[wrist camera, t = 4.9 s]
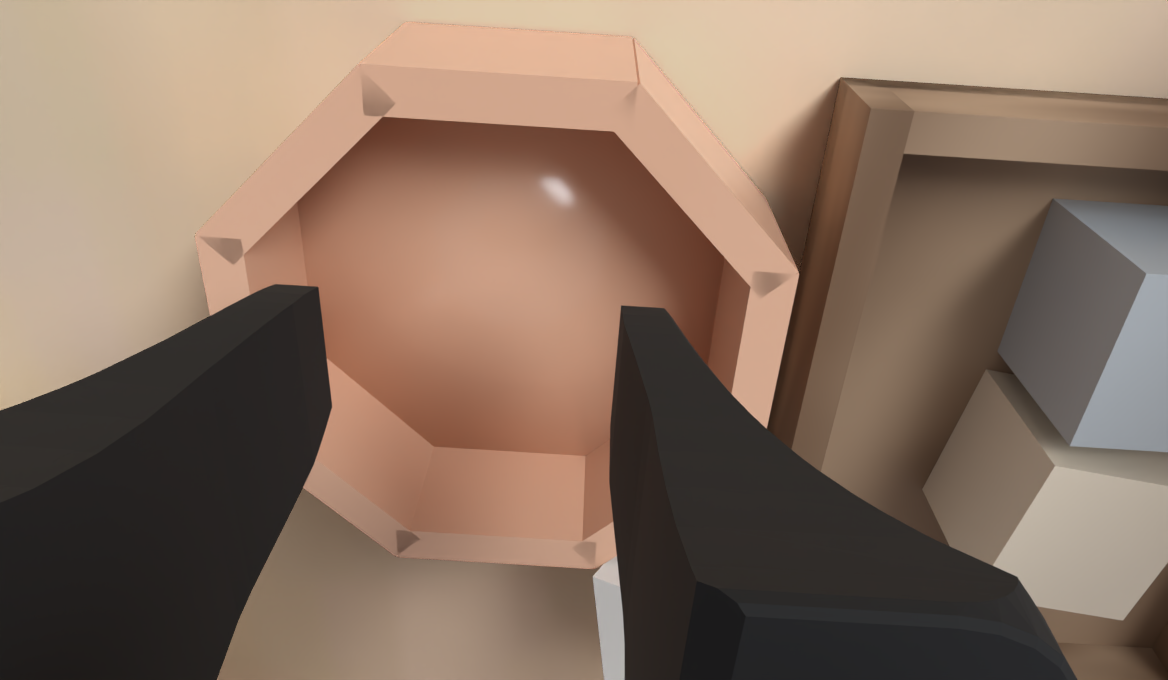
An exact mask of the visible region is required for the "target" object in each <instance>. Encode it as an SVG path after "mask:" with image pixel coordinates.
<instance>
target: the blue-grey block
mask: <svg viewBox="0 0 1168 680" xmlns="http://www.w3.org/2000/svg"><path fill="white" fill-rule="evenodd" d="M997 352H998V353H999V354H1000V356H1001V357H1002V358H1003V359H1004V361H1005V362H1006V363H1007V365H1008V366H1009V367H1010V369H1011V370H1012V371H1013V373H1014V374H1015V375H1016V377H1017V378H1018V379H1019V380H1020V382H1021V383H1022V384H1023V386H1024V387H1025V388H1026V390H1027V391H1028V392H1029V394H1030V395H1031V396H1032V397H1033V399H1034V400H1035V401H1036V403H1037V404H1038V405H1039V407H1040V408H1041V409H1042V411H1043V412H1044V413H1045V415H1046V416H1047V417H1048V418H1049V420H1050V421H1051V422H1052V424H1053V425H1054V426H1055V428H1056V429H1057V430H1058V432H1059V433H1060V434H1061V435H1062V437H1063V438H1064V439H1065V441H1066V442H1067V443H1068V445H1069V446H1075V447H1091V448H1107V449H1123V450H1139V451H1156V452H1168V206H1161V205H1146V204H1130V203H1115V202H1099V201H1084V200H1068V199H1053V200H1052V203H1051V205H1050V208H1049V211H1048V214H1047V216H1046V219H1045V222H1044V225H1043V227H1042V230H1041V233H1040V236H1039V238H1038V241H1037V244H1036V247H1035V249H1034V252H1033V255H1032V258H1031V260H1030V263H1029V266H1028V269H1027V271H1026V274H1025V277H1024V280H1023V282H1022V285H1021V288H1020V291H1019V293H1018V296H1017V299H1016V302H1015V304H1014V307H1013V310H1012V313H1011V315H1010V318H1009V321H1008V324H1007V326H1006V329H1005V332H1004V335H1003V337H1002V340H1001V343H1000V346H999V348H998V351H997Z"/></svg>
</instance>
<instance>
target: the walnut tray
mask: <svg viewBox="0 0 1168 680" xmlns="http://www.w3.org/2000/svg"><path fill="white" fill-rule="evenodd" d="M1053 199H1068V200H1084V201H1099V202H1115V203H1130V204H1146V205H1161V206H1168V99H1163V98H1147V97H1132V96H1117V95H1101V94H1086V93H1071V92H1056V91H1040V90H1025V89H1010V88H994V87H979V86H964V85H949V84H933V83H918V82H903V81H887V80H872V79H857V78H842V77H841V78H840V83H839V87H838V92H837V97H836V102H835V106H834V111H833V116H832V121H831V125H830V130H829V135H828V140H827V144H826V149H825V154H824V159H823V163H822V168H821V173H820V178H819V182H818V187H817V192H816V197H815V201H814V206H813V211H812V216H811V220H810V225H809V230H808V235H807V239H806V244H805V249H804V254H803V258H802V263H801V268H800V273H799V278H798V283H797V287H796V292H795V297H794V302H793V306H792V311H791V316H790V321H789V325H788V330H787V335H786V340H785V344H784V349H783V354H782V359H781V363H780V368H779V373H778V378H777V382H776V387H775V392H774V397H773V401H772V406H771V411H770V416H769V420H768V425H767V430H769V431H770V432H771V433H772V434H773V435H775V436H776V437H777V438H778V439H779V440H781V441H782V442H783V443H784V444H785V445H787V446H788V447H789V448H790V449H791V450H793V451H794V452H795V453H796V454H797V455H799V456H800V457H801V458H803V459H804V460H805V461H807V462H808V463H809V464H811V465H812V466H813V467H815V468H816V469H817V470H819V471H820V472H822V473H823V474H825V475H826V476H828V477H829V478H831V479H832V480H834V481H835V482H837V483H838V484H840V485H841V486H843V487H844V488H845V489H847V490H848V491H850V492H851V493H853V494H854V495H856V496H858V497H859V498H861V499H863V500H864V501H866V502H868V503H869V504H871V505H873V506H874V507H876V508H878V509H879V510H881V511H883V512H884V513H886V514H888V515H890V516H892V517H894V518H895V519H897V520H899V521H901V522H903V523H905V524H906V525H908V526H910V527H912V528H914V529H916V530H917V531H919V532H921V533H923V534H925V535H927V536H929V537H931V538H933V539H935V540H937V541H939V542H941V543H943V544H946V545H948V546H949V544H948V542H947V540H946V538H945V535H944V533H943V531H942V529H941V527H940V525H939V523H938V521H937V519H936V517H935V515H934V513H933V511H932V509H931V507H930V505H929V502H928V500H927V498H926V496H925V494H924V492H923V490H922V489H923V487H924V485H925V483H926V481H927V479H928V478H929V476H930V474H931V472H932V470H933V468H934V466H935V464H936V462H937V461H938V459H939V457H940V455H941V453H942V451H943V449H944V447H945V446H946V444H947V442H948V440H949V438H950V436H951V434H952V432H953V430H954V429H955V427H956V425H957V423H958V421H959V419H960V417H961V415H962V414H963V412H964V410H965V408H966V406H967V404H968V402H969V400H970V399H971V397H972V395H973V393H974V391H975V389H976V387H977V385H978V383H979V382H980V380H981V378H982V376H983V374H984V372H985V370H986V369H987V370H992V371H997V372H1003V373H1008V374H1013V375H1015V374H1014V373H1013V371H1012V370H1011V369H1010V367H1009V366H1008V365H1007V363H1006V362H1005V361H1004V359H1003V358H1002V357H1001V356H1000V354H999V353H998V352H997V351H998V348H999V346H1000V343H1001V340H1002V337H1003V335H1004V332H1005V329H1006V326H1007V324H1008V321H1009V318H1010V315H1011V313H1012V310H1013V307H1014V304H1015V302H1016V299H1017V296H1018V293H1019V291H1020V288H1021V285H1022V282H1023V280H1024V277H1025V274H1026V271H1027V269H1028V266H1029V263H1030V260H1031V258H1032V255H1033V252H1034V249H1035V247H1036V244H1037V241H1038V238H1039V236H1040V233H1041V230H1042V227H1043V225H1044V222H1045V219H1046V216H1047V214H1048V211H1049V208H1050V205H1051V203H1052V200H1053ZM1037 608H1038V609H1039V611H1040V612H1041V614H1042V615H1043V617H1044V619H1045V620H1046V622H1047V624H1048V626H1049V628H1050V630H1051V632H1052V633H1053V635H1054V637H1055V639H1056V641H1057V643H1058V645H1059V647H1060V649H1061V651H1062V653H1063V655H1064V656H1065V658H1066V660H1067V662H1068V663H1069V665H1070V667H1071V669H1072V671H1073V672H1074V674H1075V676H1076V678H1077V680H1168V563H1167V564H1166V565H1165V567H1164V568H1163V569H1162V571H1161V572H1160V573H1159V575H1158V576H1157V577H1156V578H1155V580H1154V581H1153V582H1152V584H1151V585H1150V586H1149V587H1148V589H1147V590H1146V591H1145V593H1144V594H1143V595H1142V597H1141V598H1140V599H1139V600H1138V602H1137V603H1136V604H1135V606H1134V607H1133V608H1132V609H1131V611H1130V612H1129V613H1128V615H1127V616H1126V617H1125V618H1124V620H1123V621H1122V620H1116V619H1110V618H1104V617H1098V616H1092V615H1086V614H1080V613H1074V612H1068V611H1062V610H1056V609H1050V608H1044V607H1038V606H1037Z"/></svg>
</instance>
